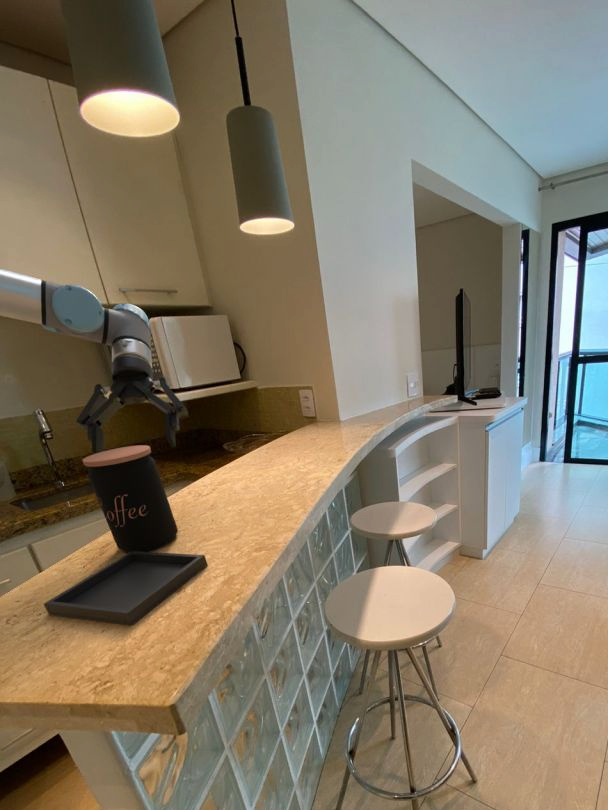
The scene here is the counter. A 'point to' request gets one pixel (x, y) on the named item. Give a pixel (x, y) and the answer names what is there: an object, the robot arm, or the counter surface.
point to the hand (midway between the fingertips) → (135, 449)
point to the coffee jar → (132, 498)
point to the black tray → (127, 587)
